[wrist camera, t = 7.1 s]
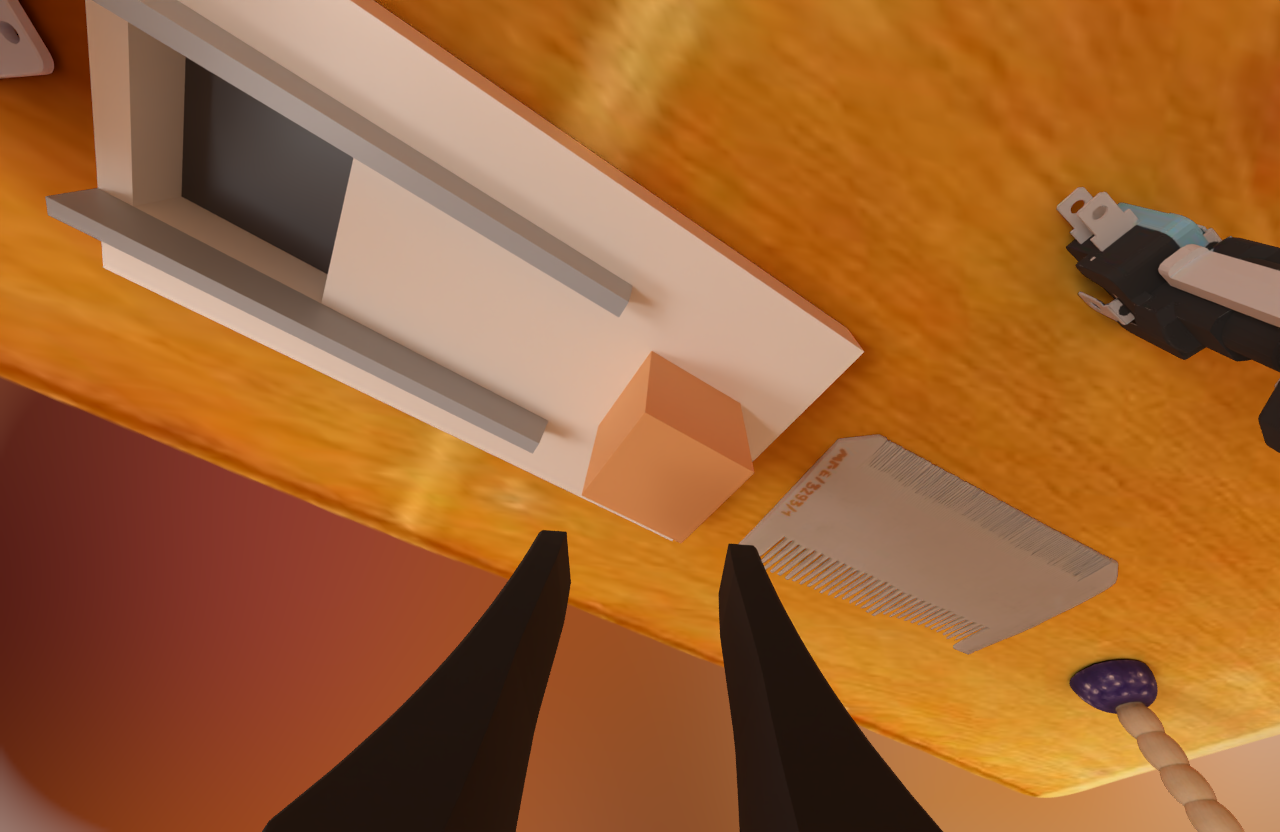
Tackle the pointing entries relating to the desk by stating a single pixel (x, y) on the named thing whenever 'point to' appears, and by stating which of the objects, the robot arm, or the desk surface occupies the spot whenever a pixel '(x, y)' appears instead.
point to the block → (668, 450)
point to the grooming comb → (927, 544)
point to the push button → (1181, 285)
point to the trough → (417, 230)
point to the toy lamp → (1152, 737)
